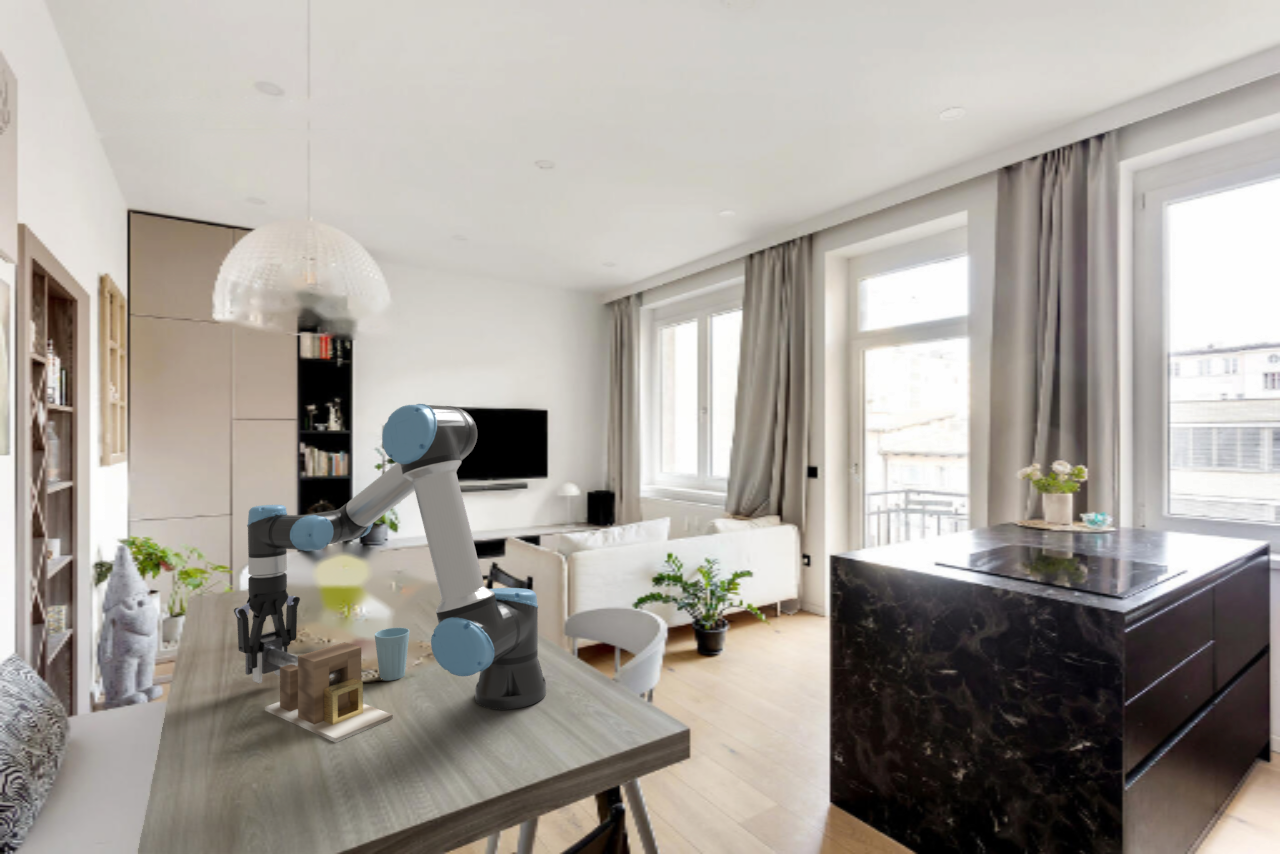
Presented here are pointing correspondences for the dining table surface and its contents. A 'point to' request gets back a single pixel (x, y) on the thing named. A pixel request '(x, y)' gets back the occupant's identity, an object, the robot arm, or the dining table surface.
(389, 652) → the cup
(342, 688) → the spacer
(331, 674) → the shaft
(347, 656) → the wooden assembly fixture
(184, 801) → the dining table surface
